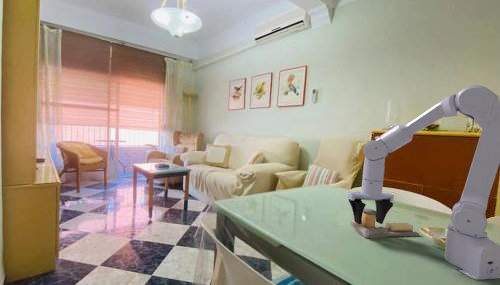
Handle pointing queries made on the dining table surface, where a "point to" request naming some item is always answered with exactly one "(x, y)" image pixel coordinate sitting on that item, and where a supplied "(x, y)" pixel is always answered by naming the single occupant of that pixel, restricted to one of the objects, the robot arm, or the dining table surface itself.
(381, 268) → the dining table surface
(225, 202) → the dining table surface
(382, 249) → the dining table surface
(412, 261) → the dining table surface
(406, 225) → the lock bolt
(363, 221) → the cylinder
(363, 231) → the mount
